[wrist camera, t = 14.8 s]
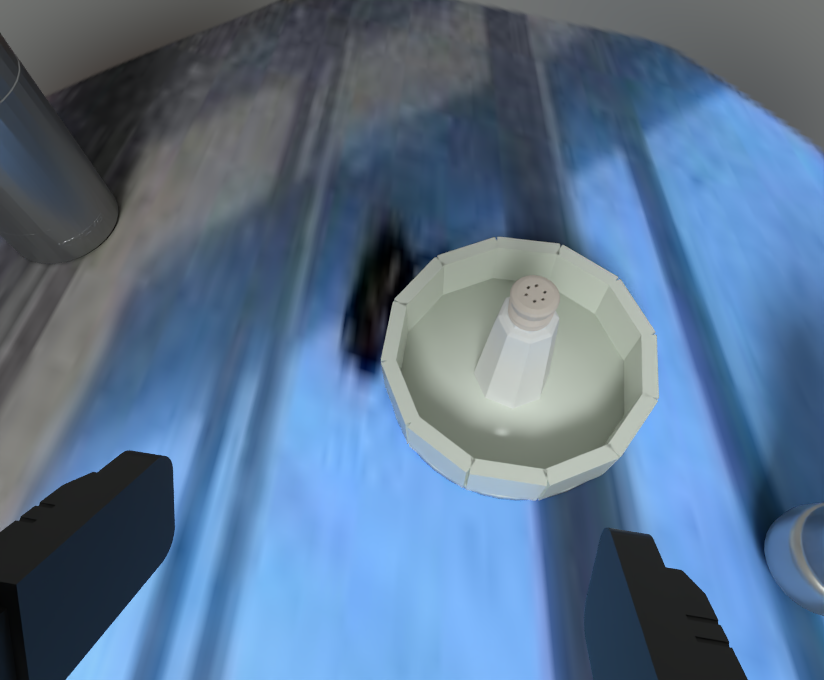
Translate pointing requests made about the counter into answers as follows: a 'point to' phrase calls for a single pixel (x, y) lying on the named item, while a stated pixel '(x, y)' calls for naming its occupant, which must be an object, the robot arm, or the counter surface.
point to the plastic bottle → (799, 555)
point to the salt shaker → (520, 344)
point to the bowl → (564, 389)
